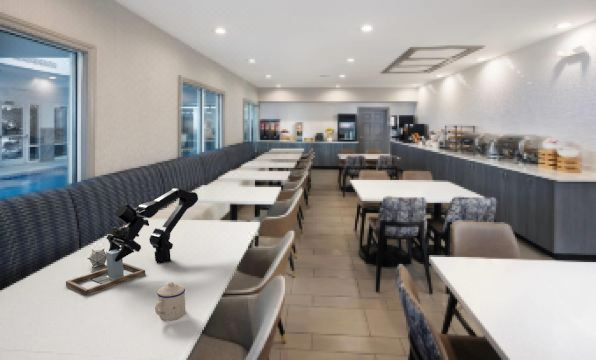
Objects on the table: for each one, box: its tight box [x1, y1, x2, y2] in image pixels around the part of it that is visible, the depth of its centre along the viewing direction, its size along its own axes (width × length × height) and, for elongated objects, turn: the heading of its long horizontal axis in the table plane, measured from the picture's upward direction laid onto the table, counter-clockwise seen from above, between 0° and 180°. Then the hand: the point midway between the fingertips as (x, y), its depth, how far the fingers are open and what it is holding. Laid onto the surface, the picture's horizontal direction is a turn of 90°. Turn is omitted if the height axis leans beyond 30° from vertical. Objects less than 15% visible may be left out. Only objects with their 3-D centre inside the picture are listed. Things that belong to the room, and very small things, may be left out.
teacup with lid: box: [154, 281, 187, 321], centre depth 133 cm, size 12×9×12 cm
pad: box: [104, 274, 127, 280], centre depth 170 cm, size 6×7×1 cm
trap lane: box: [65, 262, 146, 296], centre depth 166 cm, size 26×16×2 cm, turn 144°
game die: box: [87, 248, 107, 268], centre depth 182 cm, size 9×8×10 cm
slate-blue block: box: [105, 249, 125, 279], centre depth 169 cm, size 4×4×11 cm
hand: (111, 259), depth 167 cm, fingers open, 6 cm apart
